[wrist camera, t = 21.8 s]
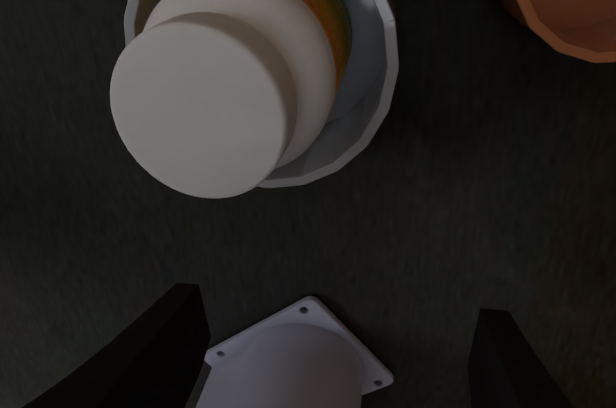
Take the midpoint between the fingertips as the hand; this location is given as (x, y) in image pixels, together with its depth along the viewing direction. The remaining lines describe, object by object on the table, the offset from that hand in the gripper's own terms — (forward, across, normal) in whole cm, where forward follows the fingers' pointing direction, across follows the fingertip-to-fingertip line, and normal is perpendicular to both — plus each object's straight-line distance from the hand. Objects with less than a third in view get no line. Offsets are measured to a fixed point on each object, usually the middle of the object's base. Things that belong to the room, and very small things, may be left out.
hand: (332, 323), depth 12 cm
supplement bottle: (+10, +3, -5) cm, 12 cm away
